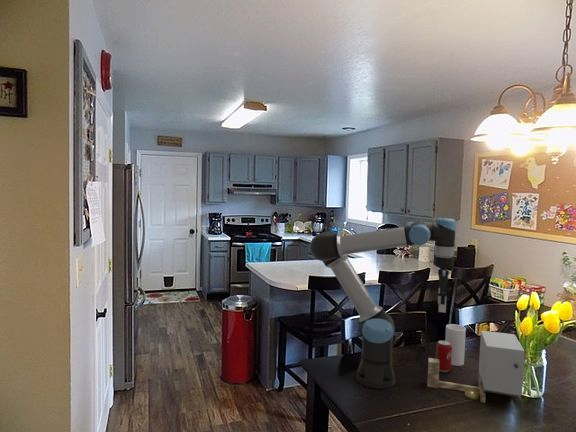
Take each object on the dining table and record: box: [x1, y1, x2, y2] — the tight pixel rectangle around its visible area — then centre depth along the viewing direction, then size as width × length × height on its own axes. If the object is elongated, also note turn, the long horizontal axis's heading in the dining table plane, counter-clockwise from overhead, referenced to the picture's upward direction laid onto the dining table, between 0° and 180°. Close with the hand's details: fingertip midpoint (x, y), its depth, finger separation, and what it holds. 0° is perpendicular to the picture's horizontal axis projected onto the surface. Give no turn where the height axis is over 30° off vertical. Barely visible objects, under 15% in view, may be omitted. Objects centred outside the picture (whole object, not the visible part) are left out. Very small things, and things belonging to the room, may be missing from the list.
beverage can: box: [435, 340, 452, 373], centre depth 179 cm, size 6×6×12 cm
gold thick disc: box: [464, 388, 480, 401], centre depth 157 cm, size 5×5×2 cm
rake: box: [426, 357, 487, 404], centre depth 160 cm, size 20×10×10 cm, turn 71°
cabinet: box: [477, 330, 525, 397], centre depth 156 cm, size 12×19×22 cm, turn 161°
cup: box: [444, 323, 467, 367], centre depth 188 cm, size 8×8×16 cm
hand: (441, 307), depth 172 cm, fingers open, 13 cm apart
